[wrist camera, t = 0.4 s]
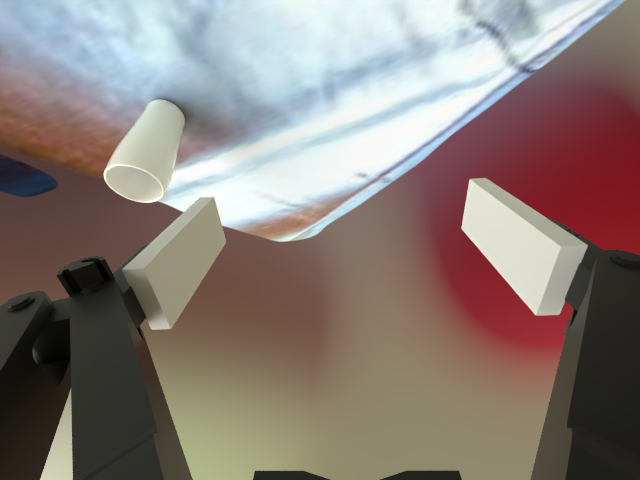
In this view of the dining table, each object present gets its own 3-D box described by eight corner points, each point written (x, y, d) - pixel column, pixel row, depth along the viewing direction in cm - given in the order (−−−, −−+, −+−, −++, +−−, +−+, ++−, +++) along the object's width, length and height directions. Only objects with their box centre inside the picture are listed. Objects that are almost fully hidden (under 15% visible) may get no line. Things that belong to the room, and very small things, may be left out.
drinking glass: (146, 82, 40) (105, 154, 32) (196, 108, 44) (171, 179, 35) (138, 119, 45) (99, 190, 36) (184, 140, 48) (158, 210, 40)
